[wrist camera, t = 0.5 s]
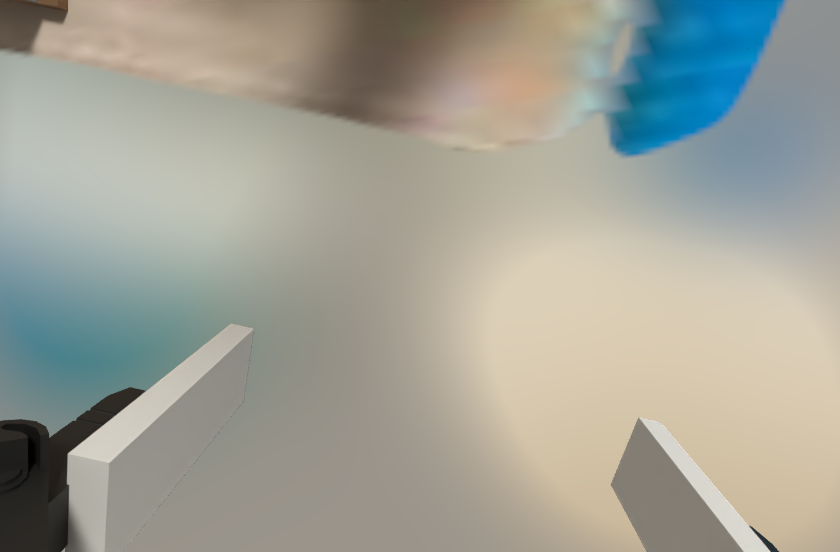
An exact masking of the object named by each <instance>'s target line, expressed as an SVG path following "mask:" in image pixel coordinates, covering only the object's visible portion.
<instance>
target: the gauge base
mask: <svg viewBox="0 0 840 552" xmlns="http://www.w3.org/2000/svg"><path fill="white" fill-rule="evenodd" d="M10 1H16V2H21V3H27V4H33V5H38V6H44V7H49V8H55V9H61V10H66V11H68V4H67V0H10Z"/></svg>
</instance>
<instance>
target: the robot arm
mask: <svg viewBox="0 0 840 552" xmlns="http://www.w3.org/2000/svg"><path fill="white" fill-rule="evenodd" d="M253 333H254V328H250V327H245V326H241V325H237V324H232V323H231V324H230V325H229V326H227V327H226V328H225V329H223V330H222V331H221V332H220V333H218V334H217V335H216V336H215V337H213V338H212V339H211V340H210V341H208V342H207V343H206V344H205V345H203V346H202V347H201V348H200V349H198V350H197V351H196V352H195V353H193V354H192V355H191V356H190V357H188V358H187V359H186V360H185V361H183V362H182V363H181V364H180V365H178V366H177V367H176V368H175V369H173V370H172V371H171V372H170V373H168V374H167V375H166V376H165V377H163V378H162V379H161V380H160V381H158V382H157V383H156V384H155V385H153V386H152V387H151V388H150V389H148V390H147V391H144V390H140V389H135V388H131V387H130V388H127V389H124V390H122V391H119V392H117V393H114V394H111V395H109V396H107V397H106V398H104V399H103V400H101V401H100V402H99V403H97V404H96V405H94V406H93V407H92V408H91V409H90V411H86V412H85V413H84V414H82V415H80V416H79V417H78V418H77V420H76V421H72V422H71V423H70V424H68V425H67V426H65V427H64V428H62V429H61V430H60V431H58V432H57V433H56V434H54V435H53V436H51V437H50V438H49V433H48V430H47V428H46V427H45V426H44V425H42V424H40V423H38V422H36V421H29V420H22V419H20V420H4V421H0V552H61V551H62V550H63V549H64V548H65V552H124V551H125V550H126V548H127V547H128V546H129V545H130V543H131V542H132V541H133V539H134V538H135V537H136V536H137V534H138V533H139V532H140V531H141V529H142V528H143V527H144V526H145V524H146V523H147V522H148V521H149V519H150V518H151V517H152V516H153V514H154V513H155V512H156V511H157V509H158V508H159V507H160V506H161V504H162V503H163V502H164V501H165V499H166V498H167V497H168V496H169V494H170V493H171V492H172V491H173V489H174V488H175V487H176V486H177V484H178V483H179V482H180V481H181V479H182V478H183V477H184V476H185V474H186V473H187V472H188V471H189V469H190V468H191V467H192V465H193V464H194V463H195V462H196V461H197V459H198V458H199V457H200V455H201V454H202V453H203V452H204V450H205V449H206V448H207V447H208V445H209V444H210V443H211V442H212V440H213V439H214V438H215V437H216V435H217V434H218V433H219V432H220V430H221V429H222V428H223V427H224V425H225V424H226V423H227V422H228V420H229V419H230V418H231V417H232V415H233V414H234V413H235V412H236V410H237V409H238V408H239V407H240V405H241V404H242V403H243V401H244V396H245V389H246V382H247V375H248V368H249V361H250V354H251V347H252V339H253ZM611 486H612V487H613V489H614V491H615V493H616V495H617V497H618V499H619V501H620V502H621V504H622V506H623V508H624V510H625V512H626V514H627V515H628V517H629V519H630V521H631V523H632V525H633V527H634V529H635V531H636V532H637V534H638V536H639V538H640V540H641V542H642V544H643V545H644V547H645V549H646V551H647V552H779V551H778V550H777V549H776V548H775V547H774V545H773V544H772V543H770V542H769V541H768V540H767V539H766V538H764V537H763V536H762V535H761V534H760V533H758V532H757V531H756V530H755V529H754V528H752V527H751V526H748V525H747V523H746V522H745V521H744V520H743V519H742V517H741V516H740V515H739V514H738V513H737V512H736V510H735V509H734V508H733V507H732V506H731V504H730V503H729V502H728V501H727V500H726V499H725V498H724V496H723V495H722V494H721V493H720V492H719V490H718V489H717V488H716V487H715V486H714V484H713V483H712V482H711V481H710V480H709V479H708V478H707V476H706V475H705V474H704V473H703V472H702V470H701V469H700V468H699V467H698V466H697V465H696V464H695V462H694V461H693V460H692V459H691V458H690V456H689V455H688V454H687V453H686V452H685V450H684V449H683V448H682V447H681V446H680V445H679V443H678V442H677V441H676V440H675V439H674V437H673V436H672V435H671V434H670V433H669V432H668V430H667V429H666V428H665V427H664V426H663V425H662V423H661V422H657V421H653V420H649V419H644V418H640V417H639V418H638V420H637V422H636V425H635V427H634V430H633V432H632V435H631V437H630V439H629V442H628V444H627V447H626V449H625V452H624V454H623V457H622V459H621V461H620V464H619V466H618V469H617V471H616V473H615V476H614V478H613V481H612V483H611Z"/></svg>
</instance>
